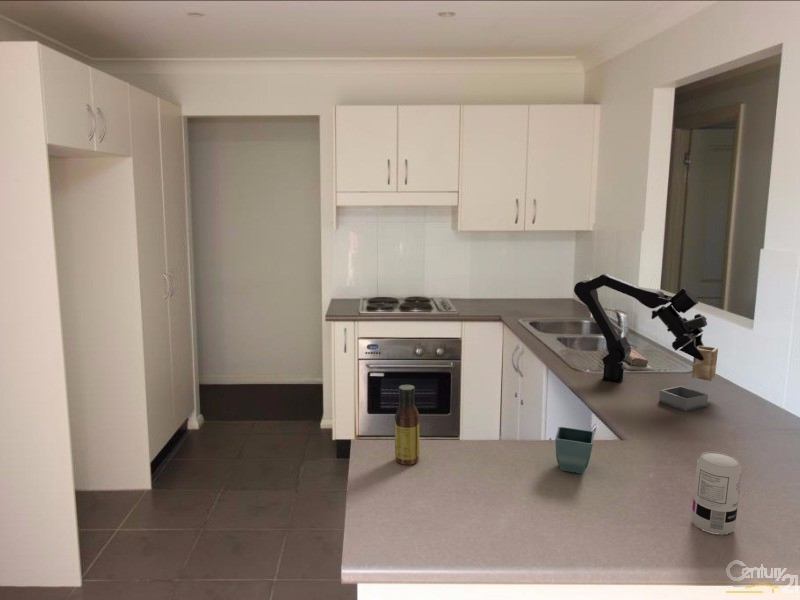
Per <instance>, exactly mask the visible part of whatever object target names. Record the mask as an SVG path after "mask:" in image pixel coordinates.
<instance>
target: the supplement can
mask: <svg viewBox="0 0 800 600" xmlns="http://www.w3.org/2000/svg"><path fill="white" fill-rule="evenodd" d="M742 471H743V469H742V467H741V464H740V460H738V459H737V458H736V457H735V456H732V455H731V454H727V453H724V452H719V451H706V452H703V453H702V454H701V455H700V456H699V458H698V459H697V462H696V470H695V478H694V487H693V488H694V491H693V499H692V507H691V508H692V510H691V522H692V523H693V524H694V525H695V527H696V526H698V527H699V528H701V529H704V530H706V531H709V532H713V533H719V534H726V533H730V534H731V533H733V532H734V531H735V530H736V523H737V514H738V507H739V500H740V499H739V497H740V489H741V481H742ZM698 527H697V528H698ZM699 528H698V529H699Z"/></svg>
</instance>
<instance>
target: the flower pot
mask: <svg viewBox="0 0 800 600" xmlns="http://www.w3.org/2000/svg"><path fill="white" fill-rule="evenodd" d="M594 434H595V432H594V431H593V430H587V429H580V428H579V429H578V428H574V427H573V428H572V427H566V426H565V427H563V426H558V428H557V431H556V435H555V440H554V441H555V458H556V463H557V465H558V467H559V469H560V470H561V471H565V472H570V473H575V472H576V474H583V473H584V472H585V471H586V469H587V468H588V465H589V463H590V460H591V455H592V452H593V451H592V450H593V445H594Z"/></svg>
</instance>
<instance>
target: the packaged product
mask: <svg viewBox="0 0 800 600" xmlns="http://www.w3.org/2000/svg"><path fill="white" fill-rule="evenodd" d="M630 349H631V353H630V355H629V357H627V358H626V359H625V360H624V362H622V363H623V367H624V368H625V369H626V370H628V371H653V369H654V368H653V367H652V366H650V365H649V361H648V360H647V358H645V357H643V355H641V354H640V353H639V352H638V351H636V350H635V349H632V348H630Z"/></svg>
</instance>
